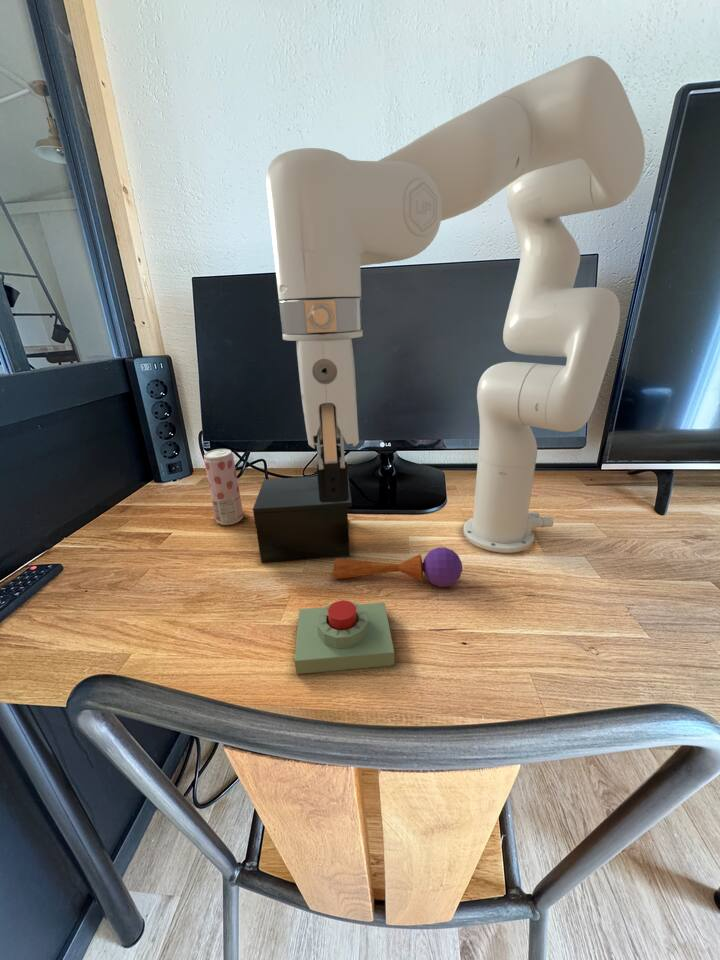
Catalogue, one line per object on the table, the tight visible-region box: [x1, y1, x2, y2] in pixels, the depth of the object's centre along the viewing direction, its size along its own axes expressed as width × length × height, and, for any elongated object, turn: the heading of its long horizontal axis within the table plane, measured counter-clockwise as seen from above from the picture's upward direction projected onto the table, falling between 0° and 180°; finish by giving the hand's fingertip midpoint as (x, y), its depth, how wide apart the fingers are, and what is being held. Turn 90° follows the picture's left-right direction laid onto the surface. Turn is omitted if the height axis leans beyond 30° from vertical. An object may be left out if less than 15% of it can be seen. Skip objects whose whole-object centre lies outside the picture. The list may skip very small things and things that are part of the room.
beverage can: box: [203, 448, 244, 526], centre depth 82 cm, size 6×6×15 cm
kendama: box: [333, 546, 463, 588], centre depth 63 cm, size 6×6×20 cm
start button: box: [328, 599, 357, 631], centre depth 51 cm, size 4×4×2 cm
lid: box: [252, 475, 353, 514], centre depth 71 cm, size 16×13×5 cm
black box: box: [253, 507, 351, 564], centre depth 74 cm, size 16×13×10 cm
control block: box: [294, 600, 395, 675], centre depth 52 cm, size 12×9×4 cm
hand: (334, 498), depth 44 cm, fingers closed
